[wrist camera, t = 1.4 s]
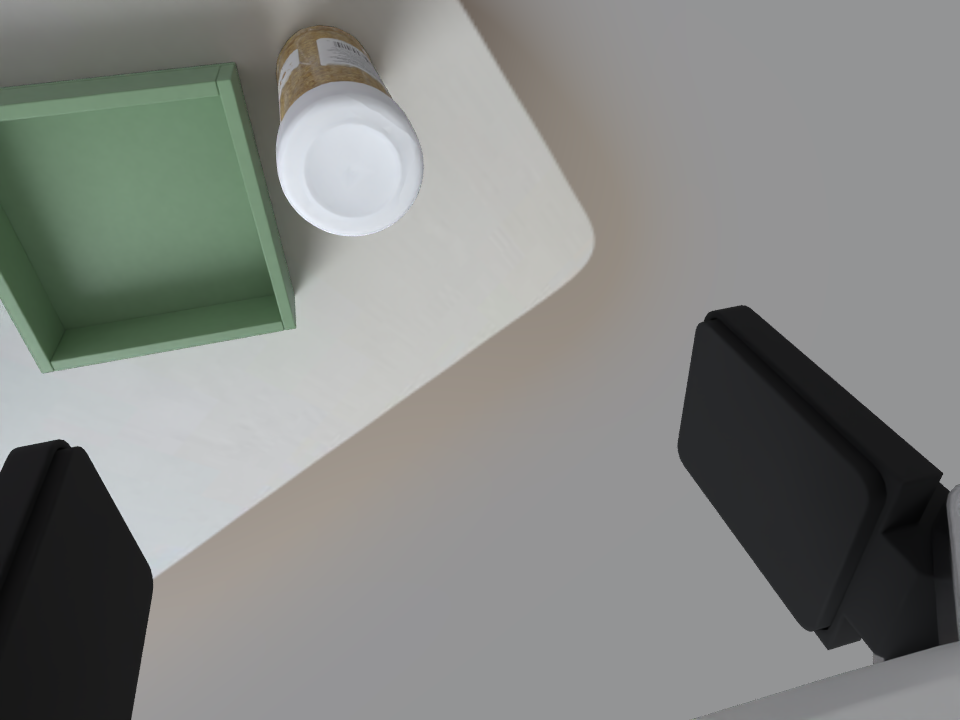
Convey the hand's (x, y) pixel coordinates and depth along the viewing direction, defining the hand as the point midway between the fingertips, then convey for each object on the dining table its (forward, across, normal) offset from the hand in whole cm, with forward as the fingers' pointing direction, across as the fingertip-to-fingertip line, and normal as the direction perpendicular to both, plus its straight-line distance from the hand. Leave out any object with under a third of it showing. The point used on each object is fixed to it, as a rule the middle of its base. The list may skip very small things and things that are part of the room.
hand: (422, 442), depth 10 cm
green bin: (+26, +10, +5) cm, 28 cm away
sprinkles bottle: (+26, 0, 0) cm, 26 cm away
